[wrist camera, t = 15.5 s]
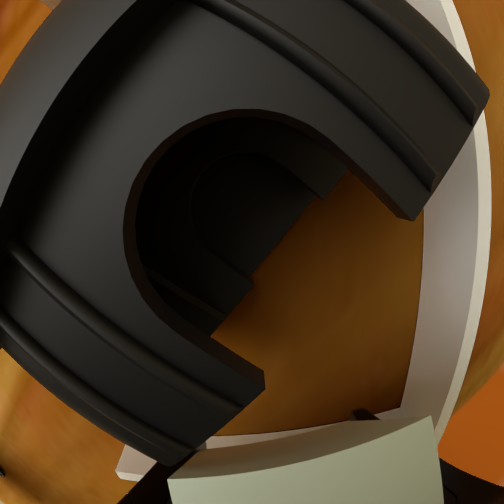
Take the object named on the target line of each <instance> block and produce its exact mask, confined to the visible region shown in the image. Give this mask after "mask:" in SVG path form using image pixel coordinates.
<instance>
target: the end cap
mask: <svg viewBox="0 0 504 504" xmlns="http://www.w3.org/2000/svg"><path fill="white" fill-rule="evenodd" d="M489 96H490V93H489V89H488V88H487V86H486V85H485V84H484V82H483V81H482V80H481V79H480V77H479V76H478V75H477V73H476V72H475V71H474V70H473V68H472V67H471V66H470V65H469V64H468V62H467V61H466V60H465V59H464V58H463V56H462V55H461V54H460V53H459V52H458V51H457V50H456V49H455V47H454V46H453V45H452V44H451V43H450V42H449V41H448V40H447V39H446V38H445V37H444V36H443V35H442V34H441V33H440V32H439V31H438V30H437V29H436V28H435V27H434V26H433V25H432V24H431V23H430V22H429V21H428V20H427V19H426V18H425V17H424V16H423V15H422V14H421V13H420V12H418V11H417V10H416V9H415V8H414V7H413V6H412V5H410V4H409V3H408V2H407V1H406V0H62V1H61V2H60V3H59V4H58V5H57V6H56V7H55V9H54V10H53V11H52V12H51V13H50V14H49V16H48V17H47V18H46V19H45V21H44V22H43V23H42V24H41V26H40V27H39V28H38V29H37V31H36V32H35V33H34V35H33V36H32V37H31V39H30V40H29V41H28V43H27V44H26V46H25V47H24V48H23V50H22V51H21V53H20V54H19V56H18V57H17V59H16V60H15V62H14V63H13V65H12V67H11V68H10V70H9V71H8V73H7V75H6V76H5V78H4V80H3V81H2V83H1V85H0V349H1V348H3V349H4V350H5V351H6V352H7V353H8V354H9V355H10V356H11V357H12V358H13V359H14V360H15V361H16V362H17V363H18V364H19V365H20V366H21V367H22V368H24V369H25V370H26V371H27V372H28V373H29V374H30V375H31V376H32V377H33V378H35V379H36V380H37V381H38V382H39V383H40V384H42V385H43V386H44V387H45V388H46V389H47V390H49V391H50V392H51V393H52V394H54V395H55V396H56V397H57V398H59V399H60V400H61V401H62V402H64V403H65V404H66V405H68V406H69V407H70V408H72V409H73V410H74V411H76V412H77V413H79V414H80V415H81V416H83V417H84V418H86V419H87V420H88V421H90V422H91V423H93V424H94V425H96V426H97V427H99V428H100V429H102V430H103V431H105V432H107V433H108V434H110V435H111V436H113V437H115V438H116V439H118V440H119V441H121V442H123V443H125V444H126V445H128V446H130V447H131V448H133V449H135V450H137V451H139V452H140V453H142V454H144V455H146V456H148V457H150V458H152V459H154V460H156V461H157V462H159V463H161V464H163V465H166V466H169V467H171V466H173V465H175V464H177V463H178V462H179V461H181V460H182V459H183V458H185V457H186V456H187V455H189V454H190V453H191V452H193V451H194V450H195V449H196V448H198V447H199V446H200V445H201V444H203V443H204V442H205V441H206V440H208V439H209V438H210V437H211V436H213V435H214V434H215V433H216V432H217V431H219V430H220V429H221V428H222V427H223V426H225V425H226V424H227V423H228V422H229V421H230V420H232V419H233V418H234V417H235V416H236V415H237V414H239V413H240V412H241V411H242V410H243V409H244V408H245V407H246V406H248V405H249V404H250V403H251V402H252V401H253V400H254V399H255V398H256V397H258V396H259V395H260V394H261V393H262V392H263V391H264V390H265V380H264V371H263V370H261V369H259V368H258V367H256V366H255V365H253V364H251V363H250V362H248V361H247V360H245V359H243V358H242V357H240V356H239V355H237V354H236V353H234V352H233V351H231V350H229V349H228V348H226V347H225V346H223V345H222V344H220V343H219V342H217V341H216V340H214V339H213V338H211V337H210V336H211V335H212V333H213V332H214V331H215V330H216V329H217V328H218V326H219V325H220V324H221V323H222V322H223V321H224V319H225V318H226V317H227V316H228V315H229V314H230V312H231V311H232V310H233V309H234V308H235V307H236V305H237V304H238V303H239V302H240V301H241V299H242V298H243V297H244V296H245V295H246V294H247V292H248V291H249V290H250V289H251V288H252V286H253V285H254V281H253V279H252V278H251V277H250V275H251V274H252V273H253V272H254V271H255V269H256V268H257V267H258V266H259V265H260V263H261V262H262V261H263V260H264V259H265V257H266V256H267V255H268V254H269V252H270V251H271V250H272V249H273V248H274V246H275V245H276V244H277V243H278V242H279V240H280V239H281V238H282V237H283V235H284V234H285V233H286V232H287V231H288V229H289V228H290V227H291V226H292V224H293V223H294V222H295V221H296V220H297V218H298V217H299V216H300V215H301V213H302V212H303V211H304V210H305V208H306V207H307V206H308V205H309V204H310V202H311V201H312V200H313V199H314V197H315V196H317V197H318V198H320V199H323V200H324V199H325V198H326V197H327V195H328V194H329V193H330V192H331V190H332V189H333V188H334V187H335V185H336V184H337V183H338V182H339V180H340V179H341V178H342V177H343V175H344V174H345V173H346V172H347V170H348V169H349V170H350V171H351V172H352V173H353V174H354V175H355V176H356V177H357V178H359V179H360V180H361V181H362V182H363V183H364V184H365V185H366V186H367V187H368V188H369V189H370V190H371V191H372V192H373V193H374V194H375V195H376V196H377V197H378V198H379V199H380V200H381V201H382V202H383V203H384V204H385V205H386V206H387V207H388V208H389V209H390V210H391V211H392V212H393V213H394V214H395V216H396V217H398V218H402V219H405V220H409V221H413V222H414V220H415V219H416V217H417V216H418V215H419V213H420V212H421V210H422V209H423V207H424V206H425V205H426V203H427V202H428V200H429V199H430V197H431V196H432V194H433V193H434V191H435V190H436V188H437V187H438V185H439V184H440V182H441V181H442V179H443V178H444V176H445V175H446V173H447V172H448V170H449V168H450V167H451V165H452V164H453V162H454V160H455V159H456V157H457V155H458V154H459V152H460V150H461V149H462V147H463V145H464V144H465V142H466V140H467V139H468V137H469V135H470V133H471V132H472V130H473V128H474V126H475V124H476V123H477V121H478V119H479V117H480V115H481V113H482V111H483V110H484V108H485V106H486V104H487V102H488V99H489Z"/></svg>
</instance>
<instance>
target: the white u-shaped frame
mask: <svg viewBox="0 0 504 504" xmlns="http://www.w3.org/2000/svg"><path fill="white" fill-rule="evenodd" d="M40 1H41V2H43V3H44V4H45V5H47V6H48V7H49V8H50V9H52V10H54V9H55V7H56V6H57V5H58V4H59V3H60V2H61V1H62V0H40ZM406 1H407V2H408V3H409V4H410V5H412V6H413V7H414V8H415V9H416V10H417V11H418V12H420V13H421V14H422V15H423V16H424V17H425V18H426V19H427V20H428V21H429V22H430V23H431V24H432V25H433V26H434V27H435V28H436V29H437V30H438V31H439V32H440V33H441V34H442V35H443V36H444V37H445V38H446V39H447V40H448V41H449V42H450V43H451V44H452V45H453V46H454V47H455V49H456V50H457V51H458V52H459V53H460V54H461V55H462V56H463V58H464V59H465V60H466V61H467V62H468V64H469V65H470V66H471V67H472V68H473V70H474V71H475V67H474V63H473V59H472V56H471V52H470V49H469V46H468V42H467V39H466V36H465V33H464V30H463V27H462V25H461V22H460V19H459V16H458V14H457V11H456V9H455V6H454V4H453V1H452V0H406ZM475 72H476V71H475ZM490 234H491V171H490V157H489V146H488V137H487V129H486V122H485V115H484V110H483V111H482V113H481V115H480V117H479V119H478V121H477V123H476V124H475V126H474V128H473V130H472V132H471V133H470V135H469V137H468V139H467V140H466V142H465V144H464V145H463V147H462V149H461V150H460V152H459V154H458V155H457V157H456V159H455V160H454V162H453V164H452V165H451V167H450V168H449V170H448V172H447V173H446V175H445V176H444V178H443V179H442V181H441V182H440V184H439V185H438V187H437V188H436V190H435V191H434V193H433V194H432V196H431V197H430V199H429V200H428V202H427V203H426V205H425V206H424V239H423V263H422V278H421V290H420V300H419V309H418V317H417V324H416V331H415V338H414V344H413V350H412V356H411V361H410V366H409V371H408V376H407V380H406V385H405V389H404V394H403V398H402V402H401V406H400V408H396V409H393V410H389V411H386V412H382V413H378V414H374V415H375V416H376V417H378V418H379V419H381V420H386V419H399V418H410V417H420V416H428V415H431V417H432V422H433V427H434V432H435V438H436V443H437V446H438V444H439V442H440V439H441V438H442V435H443V433H444V430H445V428H446V426H447V424H448V421H449V419H450V416H451V414H452V411H453V409H454V406H455V403H456V401H457V398H458V395H459V392H460V389H461V386H462V383H463V380H464V377H465V374H466V371H467V367H468V364H469V360H470V357H471V353H472V349H473V346H474V342H475V337H476V333H477V329H478V324H479V319H480V314H481V309H482V304H483V298H484V292H485V285H486V278H487V269H488V260H489V249H490ZM344 422H346V421H344ZM339 423H343V422H339ZM339 423H334V424H328V425H323V426H317V427H311V428H305V429H298V430H290V431H282V432H273V433H263V434H251V435H235V436H211V437H210V438H209V439H208V440H206V447H207V449H211V448H221V447H229V446H237V445H244V444H250V443H256V442H262V441H268V440H273V439H278V438H283V437H288V436H293V435H297V434H301V433H306V432H310V431H314V430H318V429H321V428H325V427H329V426H332V425H336V424H339ZM156 462H157V461H156V460H154V459H152V458H150V457H148V456H146V455H144V454H142V453H140V452H139V451H137V450H135V449H133V448H131V447H130V446H128V445H126V444H125V447H124V449H123V452H122V454H121V457H120V460H119V462H118V465H117V468H116V470H115V472H116V473H117V474H118V476H119V477H120V479H125V480H132V481H140V479H141V478H142V477H143V476H144V475H145V474H146V473H147V472H148V471H149V470H150V469H151V468H152V466H153V465H154V464H155V463H156Z"/></svg>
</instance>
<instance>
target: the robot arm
mask: <svg viewBox="0 0 504 504" xmlns="http://www.w3.org/2000/svg"><path fill="white" fill-rule="evenodd" d="M366 420H381V419H379V418H378V417H376V416H375V415H373V414H372V413H371V412H369V411H368V410H366V409H365V408H359V409H354V410H352V411H351V413H350V419H349V421H366ZM201 449H207V447H206V441H205V442H204V443H203V444H201V445H200V446H199V447H198V448H196V449H195V450H194V451H193V452H191V453H190V454H189V455H187V456H186V457H185V458H183V459H182V460H181V461H179V462H178V463H177V464H175V465H173V466H171V467H169V466H166V465H163V464H161V463H159V462H156V463H155V464H154V465H153V466H152V468H151V469H150V470H149V471H148V472H147V473H146V474H145V475H144V476H143V477H142V478H141V479H140V481H139V482H138V483H137V484H136V485H135V486H134V487H133V488H132V489H131V490H130V491H129V492H128V494H126V495H125V496H124V497H123V498H122V499H121V500H120V501H119V502H118V503H117V504H172V499H171V495H170V490H169V486H168V481H167V479H168V478H169V477H170V476H171V475H172V474H174V473H175V472H176V471H177V470H178V469H179V468H180V467H182V466H183V465H184V464H185V463H186V462H187V461H188V460H189V459H191V458H192V457H193V456H194V455H195V454H196V453H197V452H198V451H199V450H201ZM439 463H440V470H441V478H442V487H443V498H444V504H504V487H502V486H499V485H496V484H493V483H490V482H488V481H485V480H483V479H480V478H478V477H476V476H473V475H471V474H469V473H466V472H464V471H462V470H459V469H458V468H456V467H454V466H453V465H451V464H449V463H447V462H446V461H443V460H442V459H441V458H439ZM5 475H6V474H5V473H4V471H3V470H2V469H1V468H0V476H1V477H3V478H4V477H5Z"/></svg>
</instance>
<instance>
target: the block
mask: <svg viewBox="0 0 504 504" xmlns="http://www.w3.org/2000/svg"><path fill="white" fill-rule="evenodd" d="M167 481H168V486H169V490H170V495H171V499H172V504H444V498H443V487H442V478H441V470H440V463H439V457H438V450H437V443H436V438H435V432H434V427H433V422H432V417H431V415H428V416H420V417H410V418H399V419H386V420H366V421H346V422H343V423H339V424H336V425H332V426H329V427H325V428H321V429H318V430H314V431H310V432H306V433H301V434H297V435H293V436H288V437H283V438H278V439H273V440H268V441H262V442H256V443H250V444H244V445H237V446H229V447H221V448H211V449H201V450H199V451H198V452H197V453H196V454H195V455H194V456H193V457H192V458H191V459H189V460H188V461H187V462H186V463H185V464H184V465H183V466H182V467H180V468H179V469H178V470H177V471H176V472H175V473H174V474H172V475H171V476H170V477H169V478H168V479H167Z"/></svg>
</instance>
